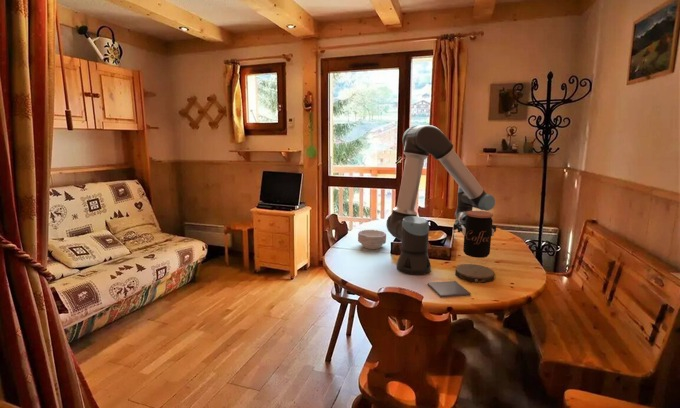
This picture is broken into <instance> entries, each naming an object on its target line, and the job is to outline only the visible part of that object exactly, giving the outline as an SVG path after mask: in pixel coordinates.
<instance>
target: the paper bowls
mask: <svg viewBox="0 0 680 408" xmlns="http://www.w3.org/2000/svg"><path fill="white" fill-rule="evenodd" d="M357 234H358V235H357V236H358V237H357V241H358V243H360V244H361V246H362V247H363V248H365V249H367V250H378V249H380V248H382V246H383V245H385V244H386V242H387V233H386V232H384V231H382V230H377V229H376V230H375V229H363V230H360V231H358V233H357Z"/></svg>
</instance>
